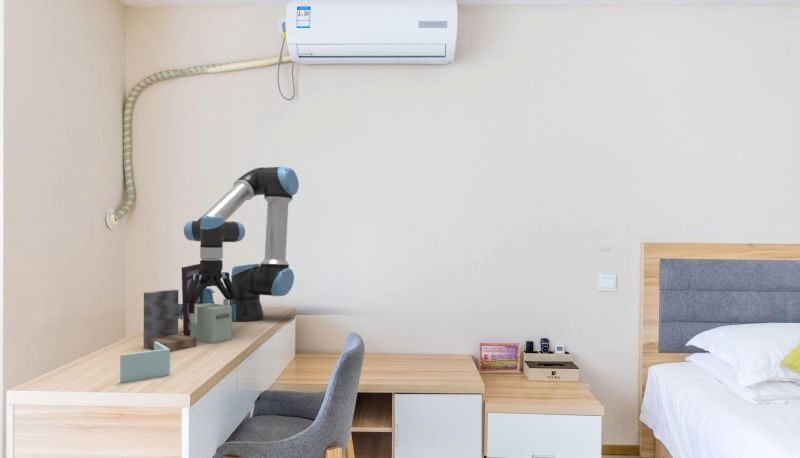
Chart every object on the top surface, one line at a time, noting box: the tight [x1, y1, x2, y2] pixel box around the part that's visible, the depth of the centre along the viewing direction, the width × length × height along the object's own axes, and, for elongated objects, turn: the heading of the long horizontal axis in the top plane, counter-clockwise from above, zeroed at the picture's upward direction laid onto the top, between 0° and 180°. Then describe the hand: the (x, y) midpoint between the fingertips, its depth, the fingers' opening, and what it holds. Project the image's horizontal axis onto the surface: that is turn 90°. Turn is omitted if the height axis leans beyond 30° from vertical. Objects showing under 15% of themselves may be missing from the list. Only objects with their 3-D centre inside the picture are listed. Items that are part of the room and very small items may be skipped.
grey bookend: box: [143, 289, 197, 353], centre depth 182 cm, size 11×12×18 cm
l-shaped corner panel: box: [119, 342, 171, 384], centre depth 150 cm, size 12×12×8 cm
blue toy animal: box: [178, 287, 236, 322], centre depth 216 cm, size 28×9×15 cm, turn 86°
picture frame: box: [178, 263, 203, 336], centre depth 206 cm, size 17×10×25 cm, turn 179°
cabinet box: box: [190, 303, 232, 345], centre depth 194 cm, size 8×13×12 cm, turn 56°
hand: (210, 320), depth 194 cm, fingers open, 13 cm apart
